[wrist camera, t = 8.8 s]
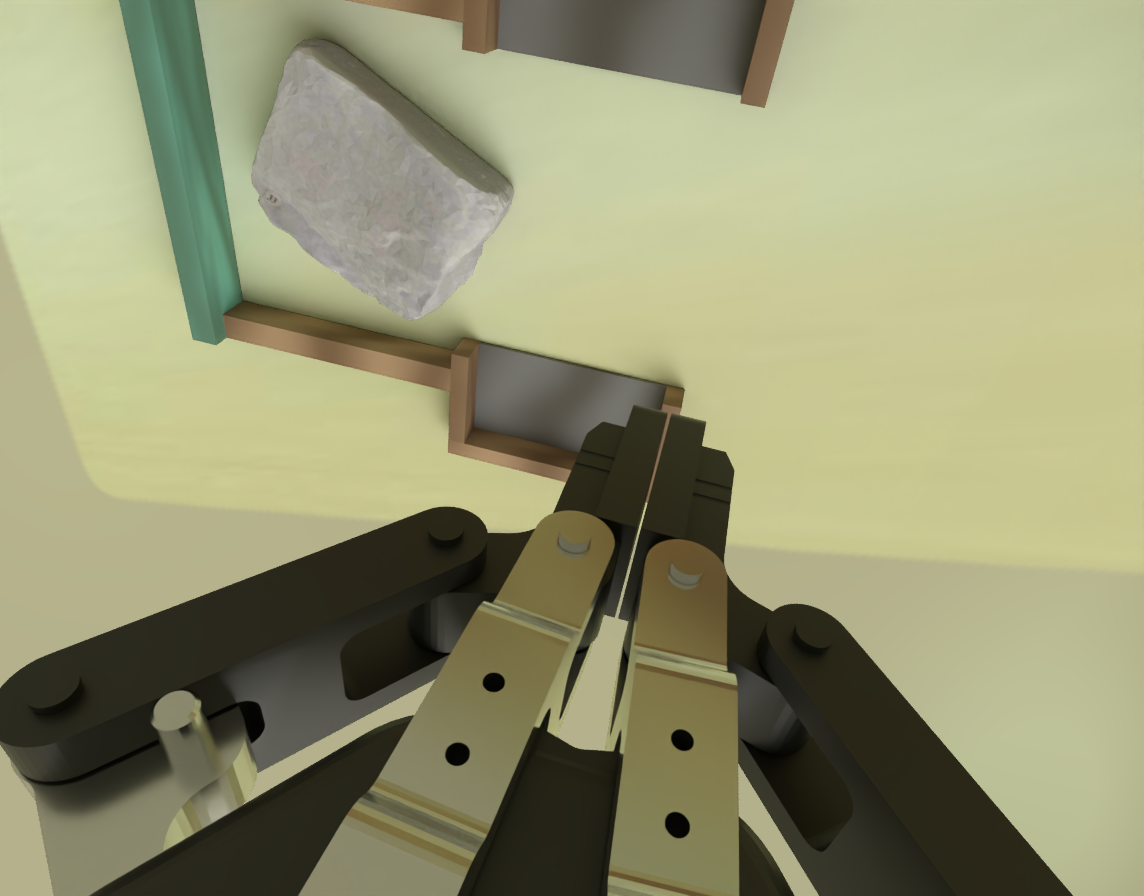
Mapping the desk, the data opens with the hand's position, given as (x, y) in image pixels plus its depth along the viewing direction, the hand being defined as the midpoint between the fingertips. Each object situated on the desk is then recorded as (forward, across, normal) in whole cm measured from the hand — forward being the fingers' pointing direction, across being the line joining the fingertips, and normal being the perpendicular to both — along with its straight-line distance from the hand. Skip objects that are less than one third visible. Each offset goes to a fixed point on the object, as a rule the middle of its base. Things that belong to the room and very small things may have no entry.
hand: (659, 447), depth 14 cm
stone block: (+23, +17, +4) cm, 29 cm away
